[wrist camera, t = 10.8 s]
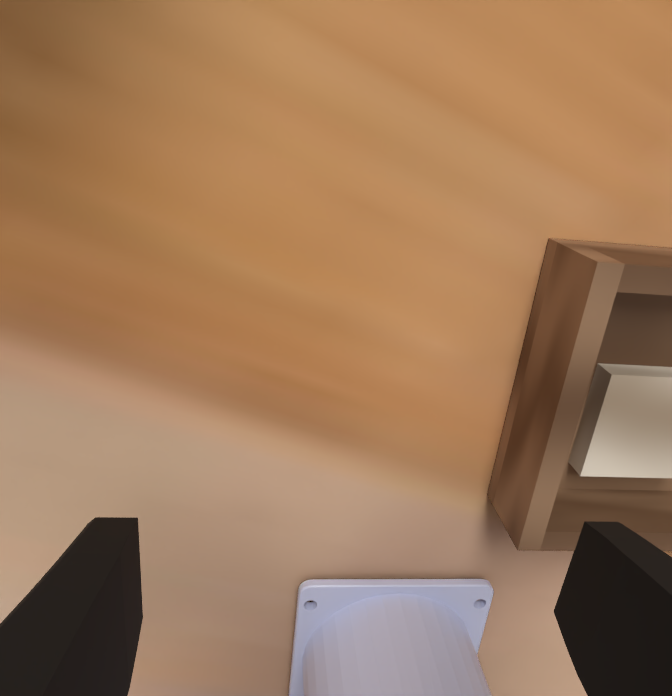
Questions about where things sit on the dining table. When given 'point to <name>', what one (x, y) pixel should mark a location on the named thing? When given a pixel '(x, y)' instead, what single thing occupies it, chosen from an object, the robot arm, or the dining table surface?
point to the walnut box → (591, 400)
